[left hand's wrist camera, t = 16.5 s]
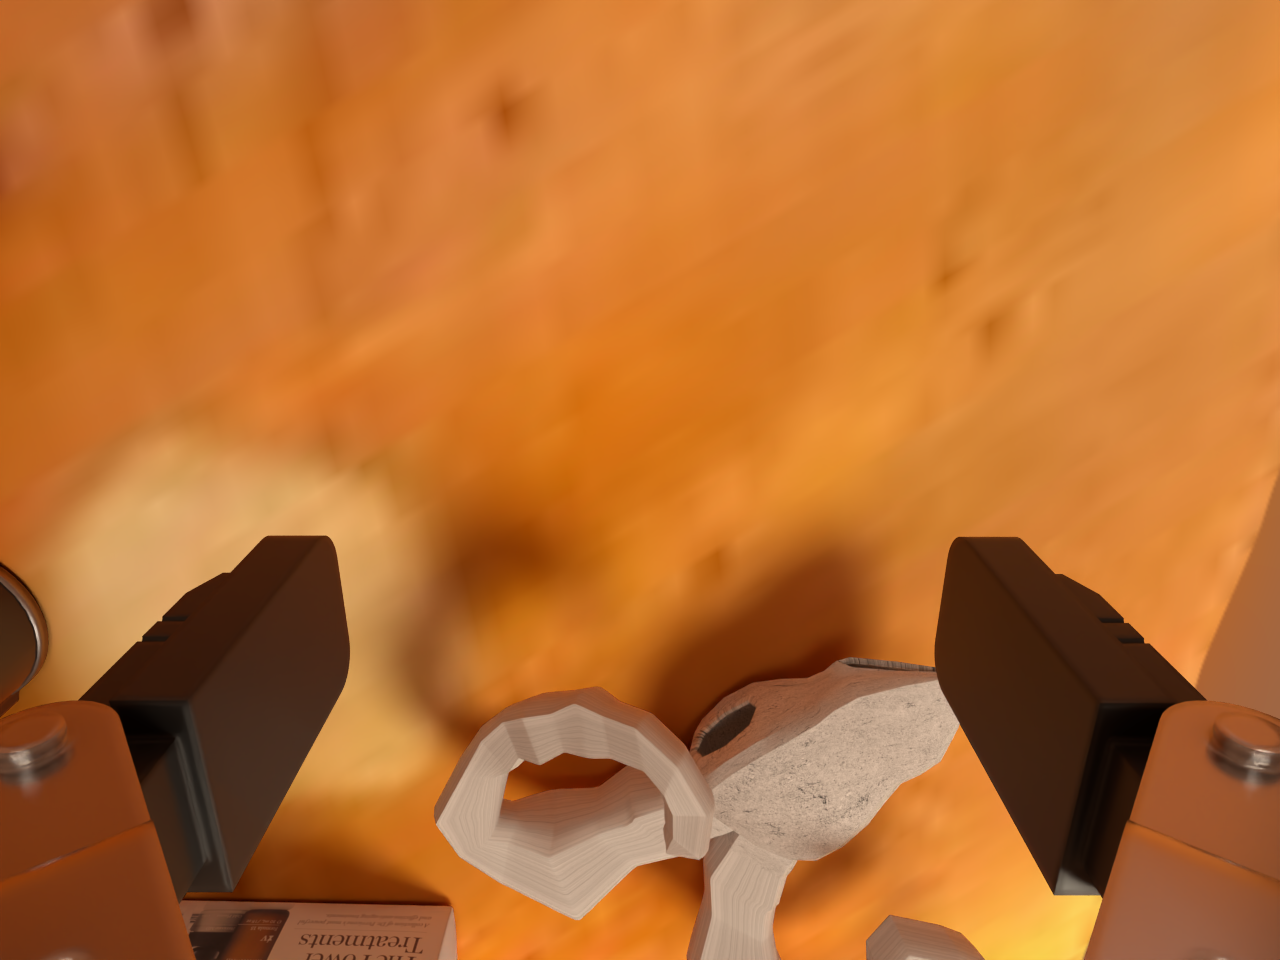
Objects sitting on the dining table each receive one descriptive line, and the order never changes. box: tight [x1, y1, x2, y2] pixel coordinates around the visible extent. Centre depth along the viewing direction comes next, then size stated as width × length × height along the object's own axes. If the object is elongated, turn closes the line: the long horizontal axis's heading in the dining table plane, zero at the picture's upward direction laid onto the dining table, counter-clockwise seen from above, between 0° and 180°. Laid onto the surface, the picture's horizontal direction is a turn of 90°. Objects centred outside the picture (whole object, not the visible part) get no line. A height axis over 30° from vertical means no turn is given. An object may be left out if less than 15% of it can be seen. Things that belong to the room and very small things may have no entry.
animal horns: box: [434, 657, 985, 960], centre depth 45 cm, size 28×26×12 cm
